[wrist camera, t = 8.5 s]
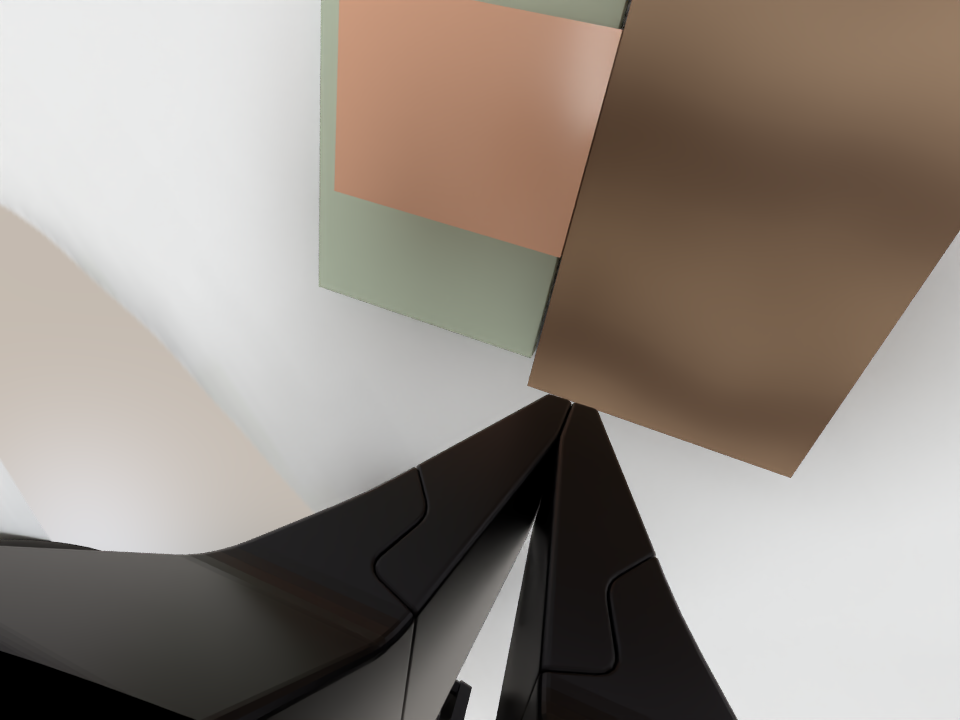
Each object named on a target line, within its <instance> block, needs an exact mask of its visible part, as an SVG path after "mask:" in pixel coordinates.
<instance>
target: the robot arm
mask: <svg viewBox="0 0 960 720" xmlns="http://www.w3.org/2000/svg"><path fill="white" fill-rule="evenodd" d="M537 511H538V512H537ZM536 514H537V515H536ZM535 517H536V519H535ZM534 519H535V522H534ZM533 522H534V526H533V530H532V534H531V539H530V544H529V549H528V554H527V560H526V565H525V570H524V575H523V581H522V586H521V591H520V596H519V601H518V607H517V612H516V617H515V622H514V628H513V633H512V638H511V643H510V649H509V654H508V659H507V664H506V670H505V675H504V680H503V685H502V691H501V696H500V701H499V706H498V711H497V717H496V720H738V719H737V718H736V716H735V714H734V712H733V710H732V708H731V707H730V705H729V703H728V701H727V699H726V697H725V696H724V694H723V692H722V690H721V688H720V686H719V685H718V683H717V681H716V679H715V677H714V675H713V674H712V672H711V670H710V668H709V666H708V664H707V663H706V661H705V659H704V657H703V655H702V653H701V651H700V649H699V647H698V645H697V643H696V641H695V640H694V638H693V636H692V634H691V632H690V630H689V628H688V626H687V624H686V622H685V620H684V618H683V616H682V614H681V612H680V610H679V607H678V605H677V603H676V601H675V598H674V596H673V594H672V592H671V589H670V587H669V585H668V583H667V580H666V578H665V575H664V573H663V570H662V568H661V565H660V563H659V560H658V559H657V558H656V557H655V556H656V554H655V551H654V549H653V546H652V544H651V541H650V539H649V536H648V534H647V531H646V529H645V526H644V524H643V521H642V519H641V517H640V514H639V512H638V509H637V507H636V504H635V502H634V499H633V497H632V494H631V492H630V489H629V487H628V485H627V482H626V480H625V477H624V475H623V472H622V470H621V467H620V465H619V462H618V460H617V457H616V455H615V453H614V450H613V448H612V445H611V443H610V440H609V438H608V435H607V433H606V430H605V428H604V425H603V423H602V421H601V418H600V416H599V413H598V411H597V410H596V409H595V408H592V407H589V406H586V405H582V404H579V403H573V404H572V405H571V402H570V401H569V400H567V399H564V398H560V397H557V396H554V395H551V394H548V395H546V396H544V397H542V398H540V399H538V400H536V401H535V402H533V403H531V404H529V405H527V406H525V407H524V408H522V409H520V410H518V411H516V412H514V413H513V414H511V415H509V416H507V417H505V418H503V419H502V420H500V421H498V422H496V423H494V424H492V425H491V426H489V427H487V428H485V429H483V430H481V431H480V432H478V433H476V434H474V435H472V436H470V437H469V438H467V439H465V440H463V441H461V442H459V443H458V444H456V445H454V446H452V447H450V448H448V449H447V450H445V451H443V452H441V453H439V454H437V455H436V456H434V457H432V458H430V459H428V460H426V461H424V462H423V463H421V464H419V465H418V466H417V468H415V467H413V468H411V469H409V470H408V471H406V472H404V473H402V474H400V475H398V476H397V477H395V478H393V479H391V480H389V481H387V482H385V483H383V484H381V485H379V486H377V487H375V488H373V489H371V490H369V491H367V492H364V493H362V494H360V495H358V496H355V497H353V498H351V499H348V500H346V501H344V502H342V503H339V504H337V505H335V506H332V507H330V508H327V509H325V510H322V511H320V512H318V513H315V514H313V515H310V516H308V517H305V518H303V519H300V520H298V521H296V522H293V523H291V524H288V525H286V526H283V527H281V528H278V529H276V530H274V531H271V532H268V533H266V534H264V535H261V536H259V537H256V538H254V539H251V540H249V541H246V542H243V543H240V544H238V545H235V546H232V547H228V548H225V549H221V550H217V551H212V552H207V553H201V554H188V555H173V554H153V553H134V552H114V551H94V550H74V549H54V548H33V547H13V546H0V720H464V717H465V713H466V709H467V705H468V701H469V697H470V693H471V689H472V687H471V686H469V685H468V684H466V683H465V682H463V681H462V680H461V681H460V682H459V681H458V680H456V678H457V676H458V674H459V672H460V670H461V668H462V666H463V664H464V662H465V660H466V658H467V656H468V654H469V652H470V650H471V648H472V646H473V644H474V642H475V640H476V638H477V636H478V634H479V632H480V630H481V628H482V626H483V624H484V622H485V620H486V618H487V616H488V614H489V612H490V610H491V608H492V606H493V604H494V602H495V600H496V598H497V596H498V594H499V592H500V590H501V588H502V586H503V584H504V582H505V580H506V578H507V576H508V574H509V572H510V570H511V568H512V566H513V564H514V562H515V560H516V558H517V556H518V554H519V552H520V550H521V548H522V546H523V544H524V542H525V540H526V538H527V536H528V534H529V531H530V529H531V527H532V525H533Z"/></svg>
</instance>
